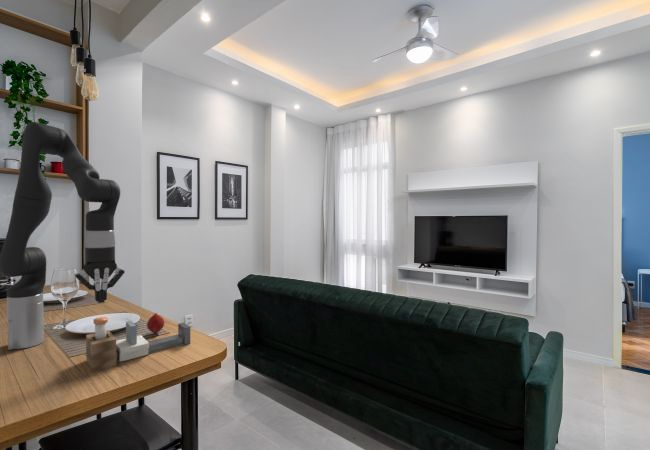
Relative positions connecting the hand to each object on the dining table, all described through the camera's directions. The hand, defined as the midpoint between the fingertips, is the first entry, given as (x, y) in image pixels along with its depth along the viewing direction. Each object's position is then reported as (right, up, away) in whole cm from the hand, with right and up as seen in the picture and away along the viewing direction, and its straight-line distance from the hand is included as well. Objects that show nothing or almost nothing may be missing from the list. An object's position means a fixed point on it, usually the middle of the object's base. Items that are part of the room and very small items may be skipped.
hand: (100, 302), depth 101 cm
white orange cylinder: (0, -13, 0) cm, 13 cm away
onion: (+4, -18, +25) cm, 31 cm away
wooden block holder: (0, -19, +1) cm, 19 cm away
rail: (+9, -19, +10) cm, 23 cm away
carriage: (+6, -19, +6) cm, 20 cm away
